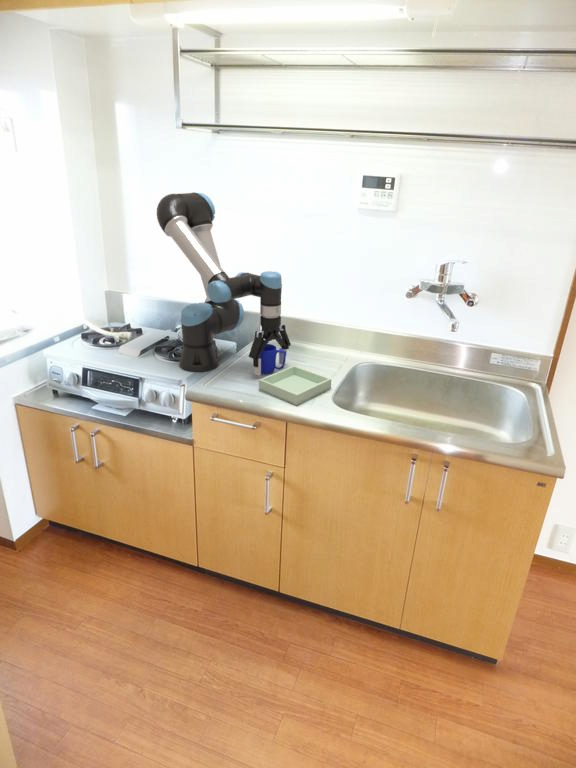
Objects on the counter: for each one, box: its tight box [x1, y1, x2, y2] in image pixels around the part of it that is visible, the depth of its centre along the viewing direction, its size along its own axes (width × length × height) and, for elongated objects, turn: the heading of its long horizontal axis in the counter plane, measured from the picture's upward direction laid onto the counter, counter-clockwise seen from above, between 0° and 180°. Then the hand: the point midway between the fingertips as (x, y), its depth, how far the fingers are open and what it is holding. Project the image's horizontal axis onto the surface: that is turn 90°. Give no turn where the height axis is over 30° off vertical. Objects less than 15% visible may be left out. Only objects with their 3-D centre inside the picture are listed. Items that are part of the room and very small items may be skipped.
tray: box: [258, 365, 332, 407], centre depth 178 cm, size 18×19×4 cm
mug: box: [256, 343, 287, 375], centre depth 190 cm, size 8×12×10 cm
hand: (270, 369), depth 192 cm, fingers open, 13 cm apart
